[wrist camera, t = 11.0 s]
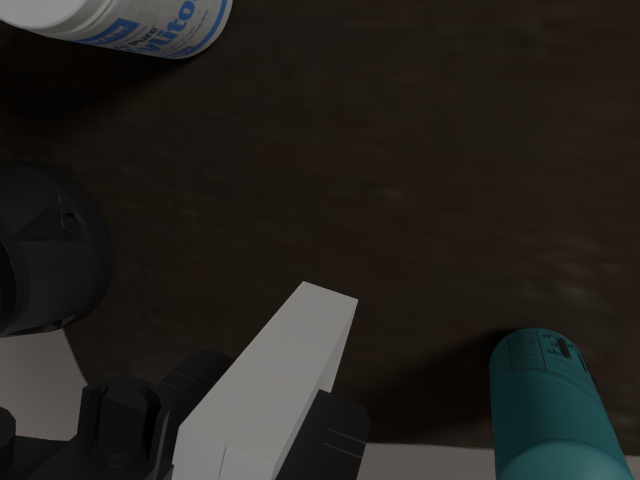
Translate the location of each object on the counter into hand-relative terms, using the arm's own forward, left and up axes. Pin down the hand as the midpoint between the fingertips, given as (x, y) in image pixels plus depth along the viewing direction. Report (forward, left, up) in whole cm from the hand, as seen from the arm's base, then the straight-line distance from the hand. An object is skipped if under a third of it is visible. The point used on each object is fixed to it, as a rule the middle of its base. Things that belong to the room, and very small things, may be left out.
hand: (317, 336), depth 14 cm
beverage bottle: (+12, -9, -26) cm, 30 cm away
